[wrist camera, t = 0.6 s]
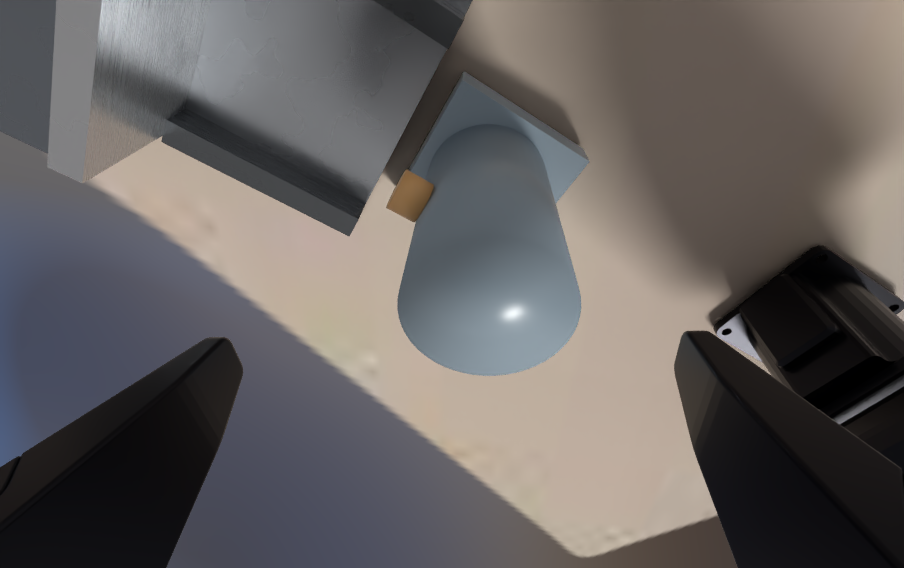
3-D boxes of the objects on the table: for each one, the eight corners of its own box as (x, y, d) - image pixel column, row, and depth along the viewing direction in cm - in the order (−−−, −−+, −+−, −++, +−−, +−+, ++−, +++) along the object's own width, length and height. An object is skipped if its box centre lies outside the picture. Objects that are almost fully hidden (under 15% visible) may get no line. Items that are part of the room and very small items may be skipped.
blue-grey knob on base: (583, 148, 20) (649, 285, 12) (504, 248, 23) (515, 410, 15) (453, 63, 18) (428, 157, 10) (387, 184, 22) (329, 328, 14)
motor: (476, -8, 17) (471, 16, 11) (355, 221, 23) (313, 312, 17) (10, -337, 13) (-356, -552, 7) (10, 43, 19) (-194, 85, 13)
